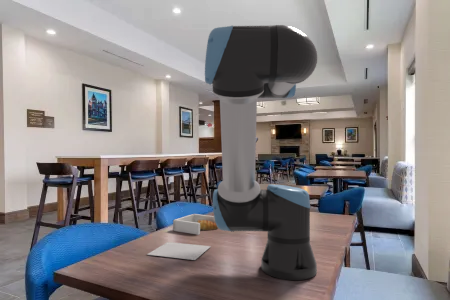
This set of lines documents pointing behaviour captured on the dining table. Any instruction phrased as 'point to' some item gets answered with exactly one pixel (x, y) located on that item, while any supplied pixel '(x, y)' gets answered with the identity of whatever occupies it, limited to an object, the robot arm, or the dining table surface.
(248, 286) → the dining table surface
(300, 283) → the dining table surface
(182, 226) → the box
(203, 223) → the pastry
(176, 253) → the paper stack
